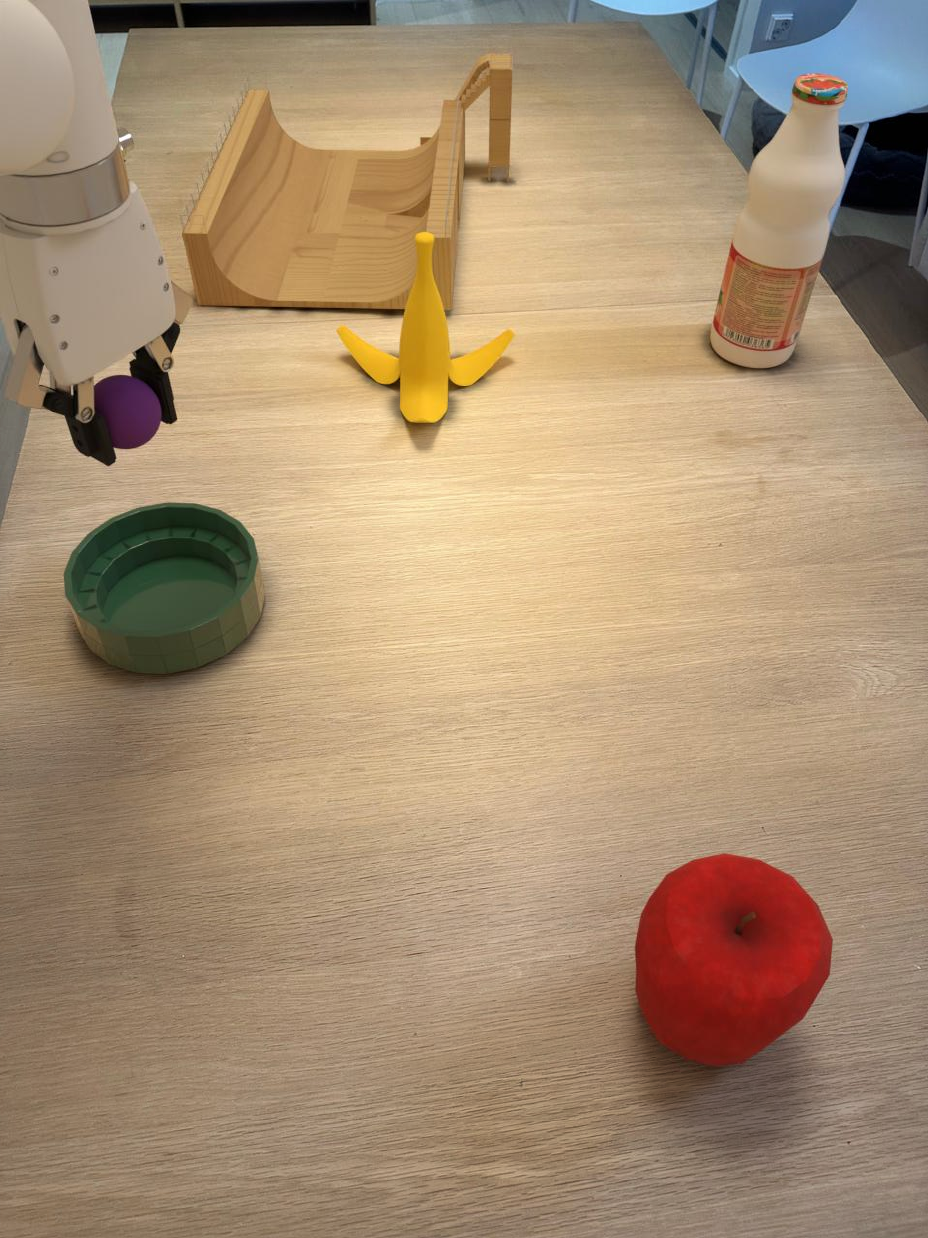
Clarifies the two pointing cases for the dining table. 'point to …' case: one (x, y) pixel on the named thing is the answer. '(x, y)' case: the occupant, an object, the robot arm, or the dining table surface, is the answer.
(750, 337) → the milk bottle
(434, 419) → the banana peel
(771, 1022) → the apple
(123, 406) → the ball
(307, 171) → the skate ramp
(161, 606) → the bowl
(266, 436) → the dining table surface
